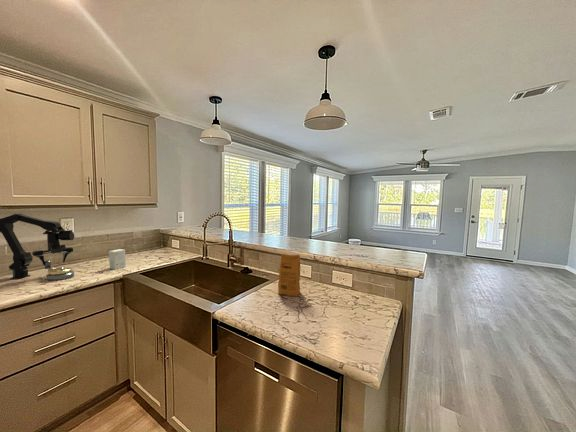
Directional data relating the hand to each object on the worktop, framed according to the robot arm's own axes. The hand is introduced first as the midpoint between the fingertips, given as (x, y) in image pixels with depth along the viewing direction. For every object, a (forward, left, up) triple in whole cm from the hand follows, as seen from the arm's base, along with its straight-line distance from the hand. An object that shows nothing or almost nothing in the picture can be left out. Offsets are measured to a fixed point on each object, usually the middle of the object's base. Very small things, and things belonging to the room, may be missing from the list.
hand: (54, 264), depth 159 cm
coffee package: (+156, -24, -8) cm, 158 cm away
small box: (+28, +20, -8) cm, 35 cm away
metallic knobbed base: (+6, -4, -4) cm, 8 cm away
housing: (+8, -3, -8) cm, 11 cm away
